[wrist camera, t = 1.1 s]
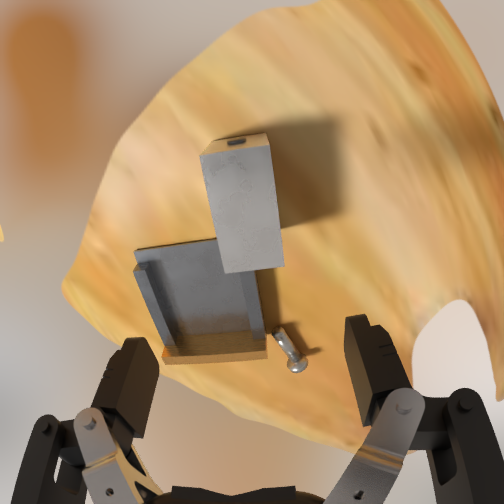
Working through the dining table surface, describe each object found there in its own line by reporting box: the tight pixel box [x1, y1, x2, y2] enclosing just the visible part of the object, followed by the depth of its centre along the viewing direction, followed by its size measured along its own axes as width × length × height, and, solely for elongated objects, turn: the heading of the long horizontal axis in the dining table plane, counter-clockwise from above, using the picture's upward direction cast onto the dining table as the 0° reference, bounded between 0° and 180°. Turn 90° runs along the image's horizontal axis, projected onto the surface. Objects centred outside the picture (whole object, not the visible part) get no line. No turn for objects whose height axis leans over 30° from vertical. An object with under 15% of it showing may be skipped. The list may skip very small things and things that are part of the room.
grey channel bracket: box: [133, 239, 268, 365], centre depth 34 cm, size 14×13×4 cm
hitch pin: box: [272, 326, 308, 373], centre depth 38 cm, size 7×3×3 cm, turn 29°
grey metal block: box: [200, 133, 285, 274], centre depth 26 cm, size 10×5×7 cm, turn 8°
